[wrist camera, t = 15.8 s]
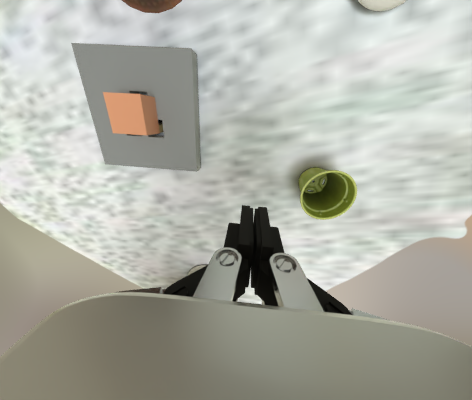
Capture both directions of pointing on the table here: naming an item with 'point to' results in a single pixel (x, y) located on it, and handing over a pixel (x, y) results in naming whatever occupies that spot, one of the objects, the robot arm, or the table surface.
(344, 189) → the plant pot
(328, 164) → the table surface
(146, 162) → the socket
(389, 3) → the flower in vase
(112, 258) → the table surface
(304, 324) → the robot arm
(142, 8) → the brown cylinder
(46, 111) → the table surface
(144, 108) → the plug
